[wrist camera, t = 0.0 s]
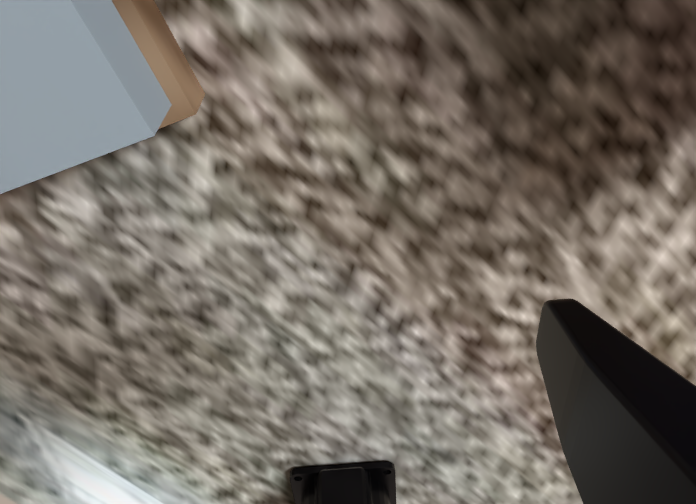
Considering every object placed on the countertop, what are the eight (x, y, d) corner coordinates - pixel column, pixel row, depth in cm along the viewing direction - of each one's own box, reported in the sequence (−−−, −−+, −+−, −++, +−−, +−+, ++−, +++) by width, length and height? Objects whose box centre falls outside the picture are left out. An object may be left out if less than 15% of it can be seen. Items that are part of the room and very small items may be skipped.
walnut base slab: (207, 88, 22) (196, 114, 20) (13, 167, 23) (-17, 198, 21) (56, -191, 17) (19, -195, 15) (-179, -65, 18) (-240, -53, 16)
